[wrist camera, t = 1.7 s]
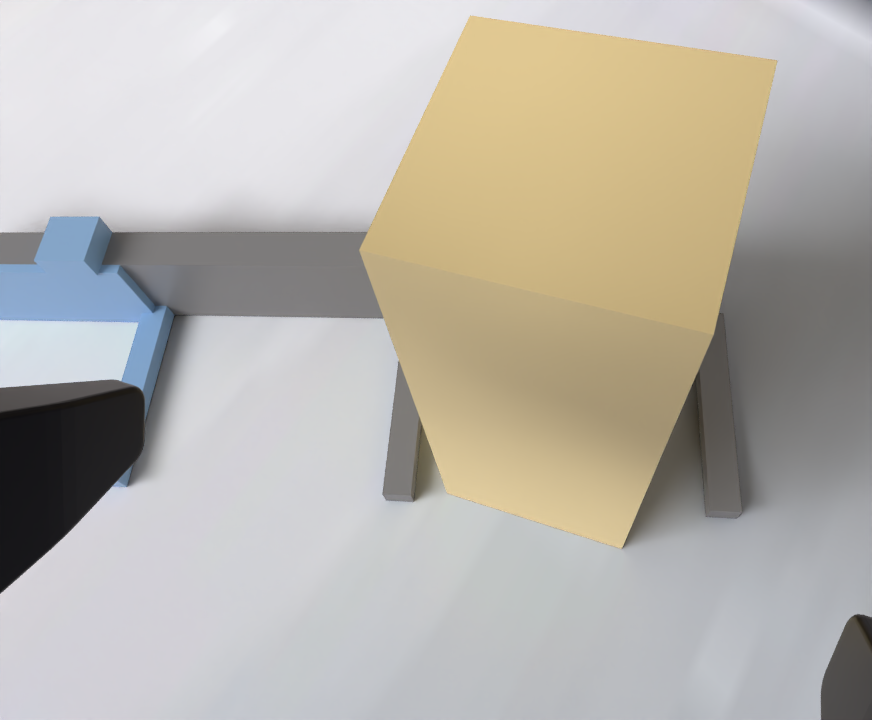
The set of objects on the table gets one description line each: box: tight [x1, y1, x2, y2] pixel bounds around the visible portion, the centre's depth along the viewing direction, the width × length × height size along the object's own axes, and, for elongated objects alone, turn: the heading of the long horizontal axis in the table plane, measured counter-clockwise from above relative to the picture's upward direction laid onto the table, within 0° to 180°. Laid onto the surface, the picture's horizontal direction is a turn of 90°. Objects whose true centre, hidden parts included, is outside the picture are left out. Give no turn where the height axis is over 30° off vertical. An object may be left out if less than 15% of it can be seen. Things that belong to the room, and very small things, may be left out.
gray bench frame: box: [0, 217, 742, 518], centre depth 22 cm, size 27×7×4 cm, turn 85°
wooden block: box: [359, 16, 777, 549], centre depth 17 cm, size 5×5×12 cm
